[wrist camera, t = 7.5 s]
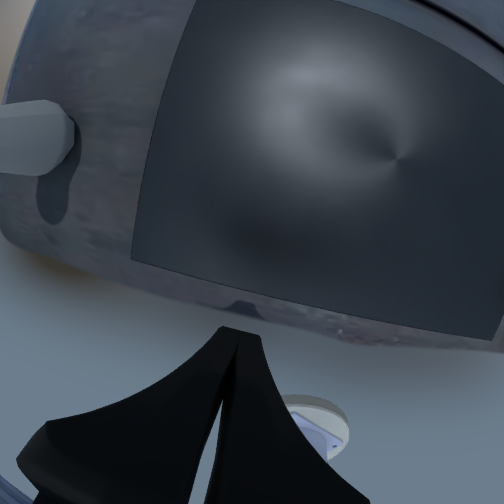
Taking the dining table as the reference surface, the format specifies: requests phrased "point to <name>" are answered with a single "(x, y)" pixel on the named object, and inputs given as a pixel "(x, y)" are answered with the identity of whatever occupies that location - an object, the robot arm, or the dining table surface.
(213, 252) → the panel
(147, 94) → the dining table surface
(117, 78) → the dining table surface
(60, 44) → the dining table surface
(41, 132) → the salt shaker
